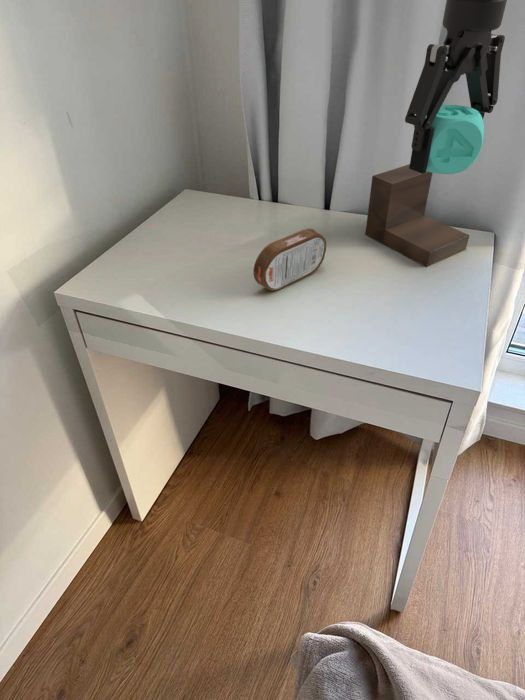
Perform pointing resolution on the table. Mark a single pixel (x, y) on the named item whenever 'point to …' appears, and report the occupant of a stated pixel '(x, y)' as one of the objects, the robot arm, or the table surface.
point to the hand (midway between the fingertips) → (441, 162)
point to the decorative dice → (455, 139)
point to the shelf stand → (409, 218)
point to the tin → (289, 259)
